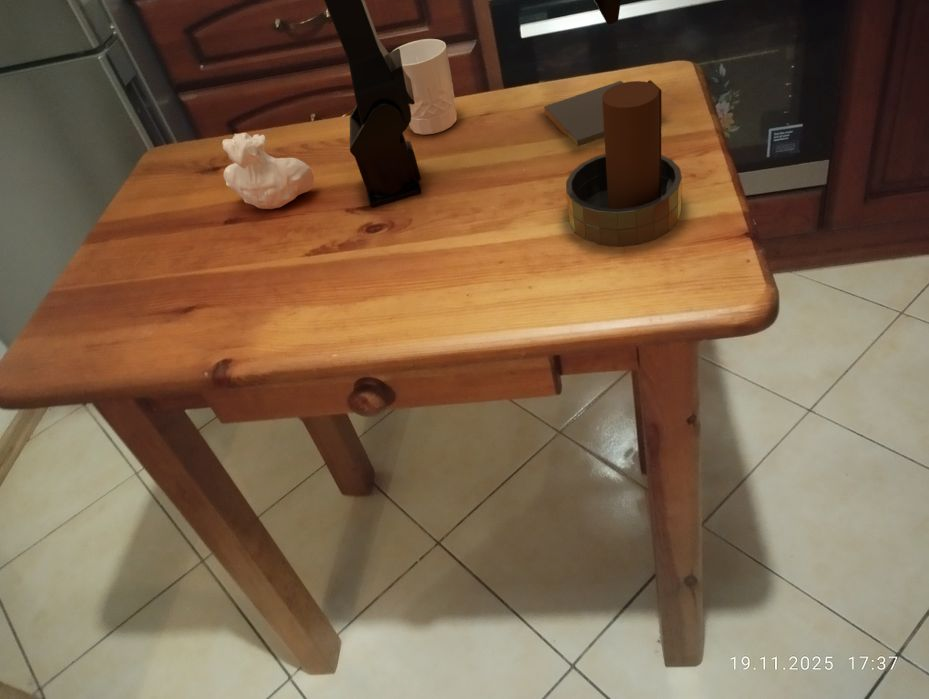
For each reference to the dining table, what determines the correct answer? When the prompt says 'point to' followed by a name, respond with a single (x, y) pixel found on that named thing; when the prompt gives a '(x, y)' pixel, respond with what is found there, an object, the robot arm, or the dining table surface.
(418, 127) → the white cup
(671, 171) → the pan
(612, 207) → the brown cylinder
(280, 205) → the white lumpy figure
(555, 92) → the dining table surface
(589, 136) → the plate
